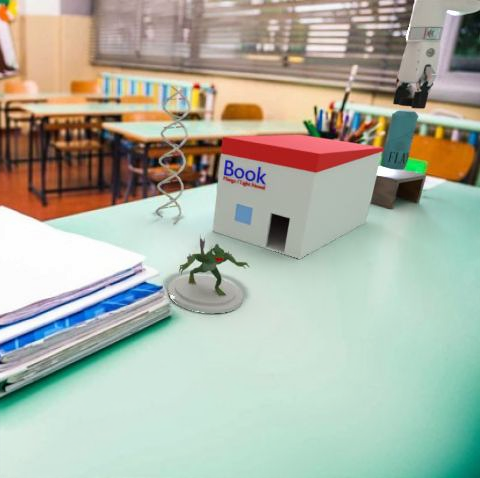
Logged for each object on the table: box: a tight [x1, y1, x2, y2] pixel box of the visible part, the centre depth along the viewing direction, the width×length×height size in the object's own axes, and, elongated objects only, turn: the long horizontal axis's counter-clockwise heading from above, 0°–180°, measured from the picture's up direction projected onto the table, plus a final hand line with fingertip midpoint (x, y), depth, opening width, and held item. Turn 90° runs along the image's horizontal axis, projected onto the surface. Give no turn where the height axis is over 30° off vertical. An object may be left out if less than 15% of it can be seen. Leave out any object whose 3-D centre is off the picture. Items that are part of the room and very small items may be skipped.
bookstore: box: [212, 134, 384, 260], centre depth 110 cm, size 21×35×21 cm, turn 135°
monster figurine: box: [167, 235, 250, 314], centre depth 79 cm, size 12×12×10 cm
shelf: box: [370, 165, 427, 210], centre depth 137 cm, size 12×14×8 cm
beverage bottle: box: [380, 96, 419, 170], centre depth 132 cm, size 6×7×20 cm
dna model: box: [155, 85, 192, 225], centre depth 109 cm, size 7×6×30 cm
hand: (408, 106), depth 129 cm, fingers open, 9 cm apart
